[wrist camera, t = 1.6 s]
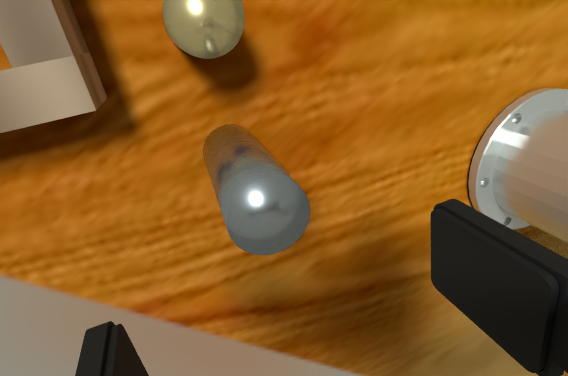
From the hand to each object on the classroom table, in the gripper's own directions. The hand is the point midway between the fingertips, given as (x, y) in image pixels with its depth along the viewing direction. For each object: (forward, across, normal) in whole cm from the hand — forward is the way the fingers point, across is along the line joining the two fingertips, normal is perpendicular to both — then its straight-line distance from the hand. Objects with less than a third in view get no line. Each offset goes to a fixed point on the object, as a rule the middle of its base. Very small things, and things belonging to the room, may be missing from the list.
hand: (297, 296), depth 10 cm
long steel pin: (+15, -1, 0) cm, 15 cm away
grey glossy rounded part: (+15, -1, -8) cm, 17 cm away
